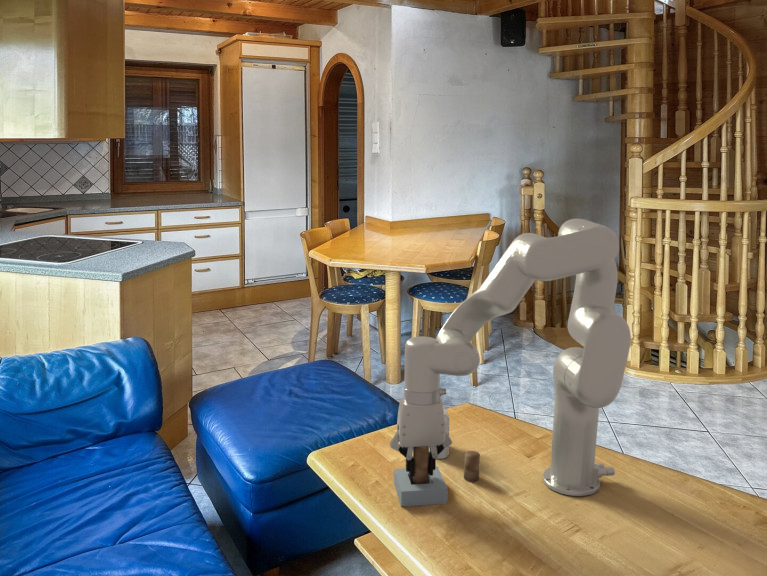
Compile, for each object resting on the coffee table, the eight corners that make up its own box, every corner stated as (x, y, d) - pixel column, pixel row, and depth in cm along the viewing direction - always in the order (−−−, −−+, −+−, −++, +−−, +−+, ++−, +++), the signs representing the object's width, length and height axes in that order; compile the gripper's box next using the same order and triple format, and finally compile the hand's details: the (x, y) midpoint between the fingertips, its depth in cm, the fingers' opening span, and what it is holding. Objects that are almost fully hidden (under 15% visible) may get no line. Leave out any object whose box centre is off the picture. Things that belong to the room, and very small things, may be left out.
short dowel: (475, 473, 159) (476, 450, 158) (480, 481, 156) (482, 457, 154) (461, 475, 158) (462, 451, 157) (466, 482, 155) (468, 458, 154)
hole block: (437, 480, 156) (437, 466, 155) (447, 503, 146) (447, 488, 146) (394, 483, 155) (394, 469, 154) (401, 506, 145) (401, 491, 144)
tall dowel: (426, 484, 152) (427, 434, 150) (429, 492, 149) (430, 441, 146) (411, 485, 152) (412, 435, 149) (414, 493, 148) (414, 442, 146)
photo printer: (422, 442, 175) (423, 396, 173) (438, 440, 176) (439, 395, 174) (433, 460, 166) (434, 412, 163) (450, 458, 167) (452, 411, 164)
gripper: (455, 386, 150) (453, 463, 154) (380, 390, 148) (380, 467, 152) (464, 399, 143) (461, 479, 147) (385, 403, 141) (385, 484, 145)
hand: (420, 472), depth 150 cm, fingers open, 3 cm apart
